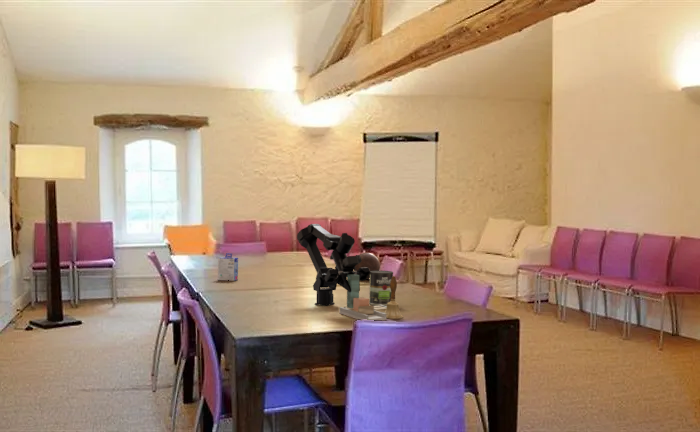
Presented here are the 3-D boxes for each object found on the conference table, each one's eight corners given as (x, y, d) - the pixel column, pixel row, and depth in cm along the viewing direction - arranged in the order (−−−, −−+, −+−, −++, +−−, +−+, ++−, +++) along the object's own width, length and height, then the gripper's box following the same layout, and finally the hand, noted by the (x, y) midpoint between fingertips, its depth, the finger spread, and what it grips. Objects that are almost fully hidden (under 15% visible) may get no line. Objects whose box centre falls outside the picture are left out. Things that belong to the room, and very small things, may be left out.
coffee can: (395, 305, 293) (396, 272, 292) (373, 306, 290) (373, 273, 289) (388, 301, 303) (388, 270, 302) (366, 302, 300) (366, 270, 299)
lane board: (339, 313, 271) (339, 307, 271) (379, 309, 281) (379, 303, 281) (366, 322, 254) (366, 315, 254) (407, 317, 263) (407, 311, 263)
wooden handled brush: (401, 315, 269) (402, 275, 269) (404, 319, 261) (404, 277, 260) (381, 315, 269) (381, 274, 269) (382, 318, 261) (383, 277, 260)
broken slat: (365, 309, 275) (365, 306, 275) (378, 308, 278) (378, 305, 278) (375, 312, 268) (375, 309, 268) (388, 311, 272) (388, 308, 272)
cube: (353, 309, 266) (353, 298, 266) (363, 308, 268) (363, 297, 268) (359, 311, 262) (359, 299, 262) (369, 310, 265) (369, 298, 264)
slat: (343, 310, 271) (344, 274, 270) (357, 309, 274) (357, 274, 274) (359, 315, 260) (360, 278, 260) (373, 313, 264) (374, 277, 263)
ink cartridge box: (238, 279, 370) (238, 253, 369) (234, 281, 364) (234, 254, 364) (221, 279, 372) (221, 252, 372) (217, 280, 367) (217, 253, 366)
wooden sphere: (382, 281, 373) (382, 253, 372) (355, 281, 371) (355, 253, 370) (377, 277, 388) (377, 251, 387) (351, 277, 386) (351, 251, 385)
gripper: (328, 249, 269) (341, 280, 260) (368, 247, 278) (382, 277, 269) (318, 266, 276) (331, 297, 267) (358, 264, 285) (371, 294, 276)
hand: (354, 291), depth 270 cm, fingers closed on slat, 3 cm apart
